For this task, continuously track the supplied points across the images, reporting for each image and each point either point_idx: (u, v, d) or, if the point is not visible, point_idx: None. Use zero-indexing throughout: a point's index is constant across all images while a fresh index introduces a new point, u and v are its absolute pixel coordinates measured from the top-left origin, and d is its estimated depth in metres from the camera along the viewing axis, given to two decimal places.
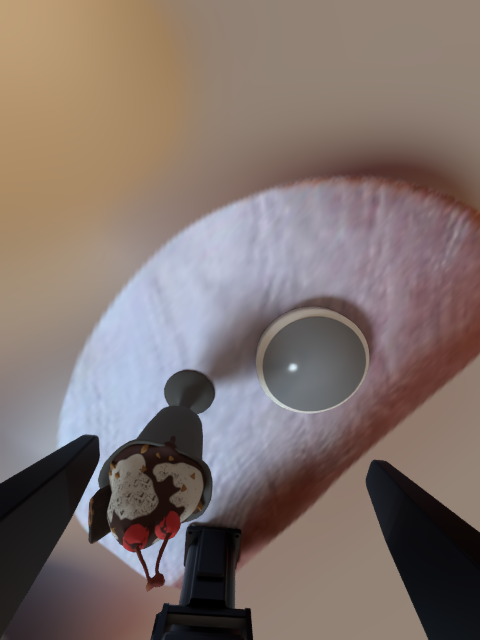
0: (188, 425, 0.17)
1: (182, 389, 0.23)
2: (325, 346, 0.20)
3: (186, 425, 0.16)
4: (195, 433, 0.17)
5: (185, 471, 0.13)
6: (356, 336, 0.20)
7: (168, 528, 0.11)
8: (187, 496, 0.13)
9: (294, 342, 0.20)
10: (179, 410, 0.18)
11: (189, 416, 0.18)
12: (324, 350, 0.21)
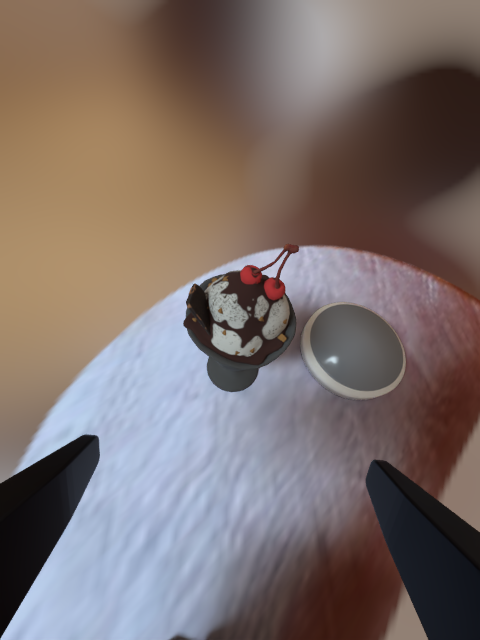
0: None
1: None
2: (363, 327, 0.24)
3: None
4: None
5: None
6: (386, 324, 0.25)
7: (278, 280, 0.12)
8: (284, 294, 0.14)
9: (336, 319, 0.24)
10: None
11: None
12: (362, 330, 0.24)
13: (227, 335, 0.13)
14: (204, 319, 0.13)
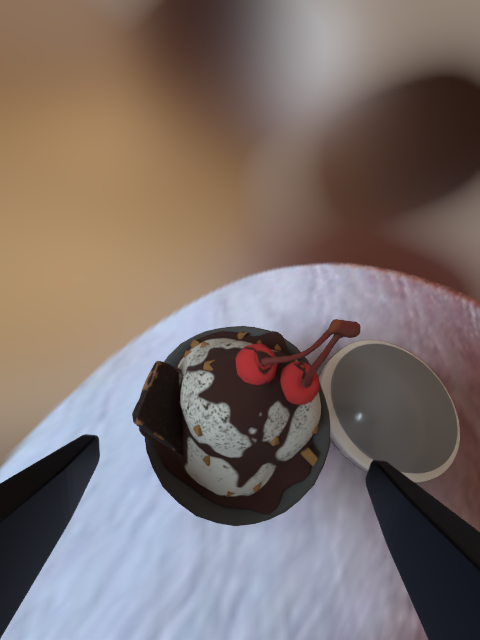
0: None
1: None
2: (399, 376, 0.18)
3: None
4: None
5: None
6: (429, 371, 0.19)
7: (307, 369, 0.07)
8: None
9: (364, 366, 0.19)
10: None
11: None
12: (400, 381, 0.18)
13: (212, 465, 0.07)
14: (171, 433, 0.07)
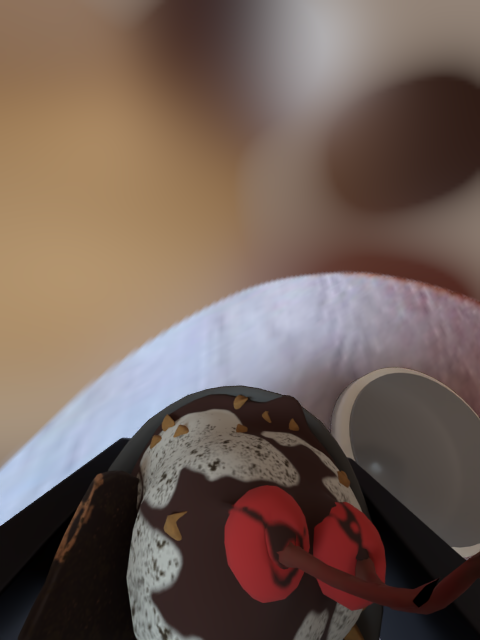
0: None
1: None
2: (432, 414, 0.15)
3: None
4: None
5: (327, 458, 0.06)
6: (467, 407, 0.16)
7: (363, 532, 0.03)
8: (356, 505, 0.05)
9: (389, 401, 0.15)
10: None
11: None
12: (432, 420, 0.15)
13: None
14: (111, 625, 0.04)
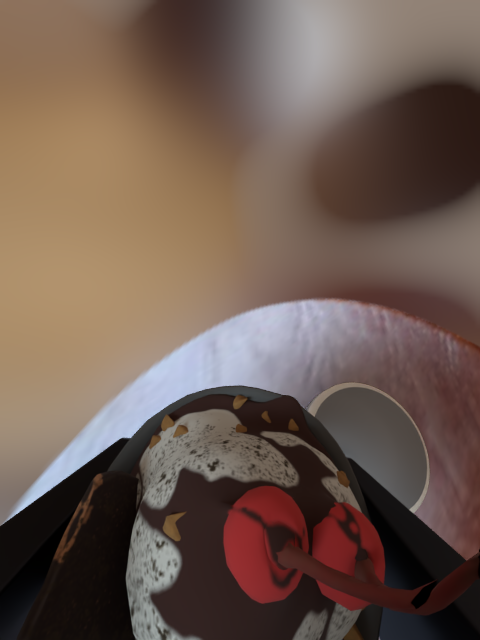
0: None
1: None
2: (376, 420, 0.20)
3: None
4: None
5: (327, 458, 0.06)
6: (403, 413, 0.20)
7: (362, 532, 0.03)
8: (355, 505, 0.05)
9: (343, 410, 0.20)
10: None
11: None
12: (376, 424, 0.20)
13: None
14: (111, 625, 0.04)
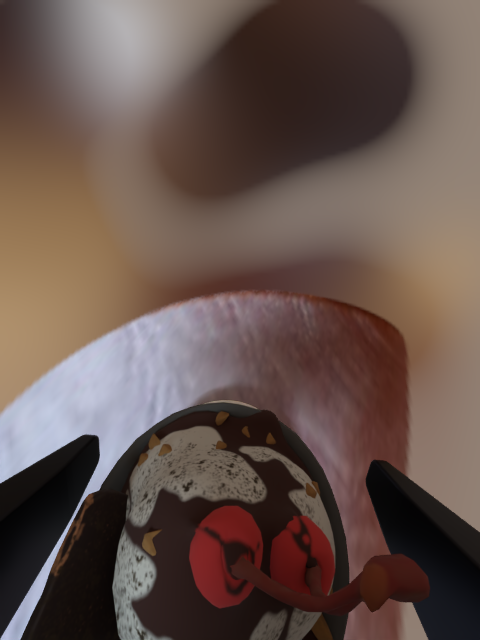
0: None
1: None
2: None
3: None
4: None
5: (300, 469, 0.06)
6: None
7: (313, 542, 0.04)
8: (320, 514, 0.05)
9: None
10: None
11: None
12: None
13: None
14: (103, 627, 0.05)
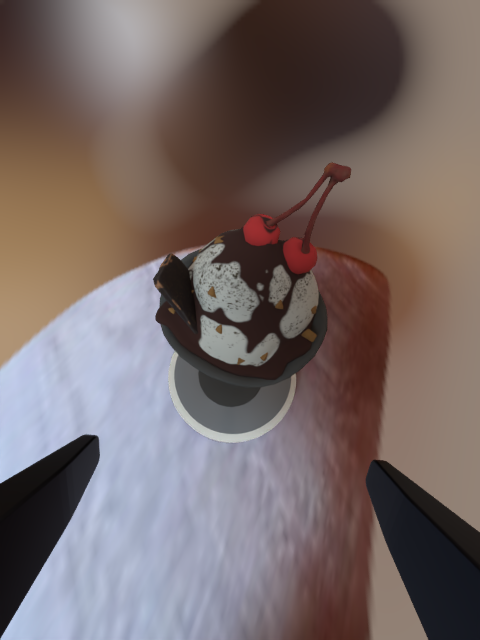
0: None
1: None
2: None
3: None
4: None
5: None
6: None
7: None
8: None
9: None
10: None
11: None
12: None
13: (224, 333, 0.08)
14: (186, 308, 0.08)
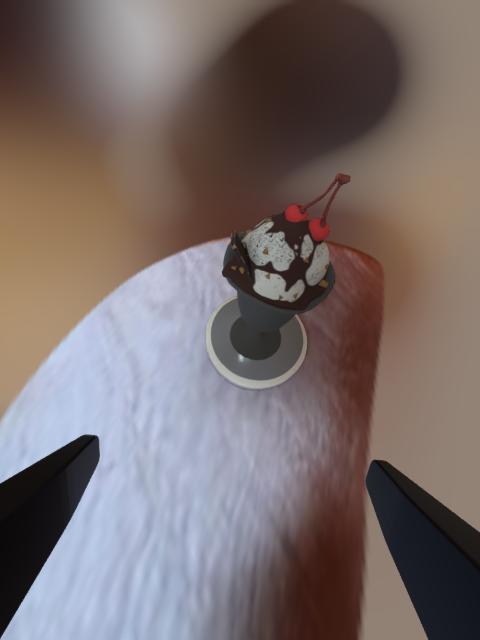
0: None
1: None
2: None
3: None
4: None
5: None
6: None
7: None
8: (323, 240, 0.14)
9: (232, 317, 0.24)
10: None
11: None
12: None
13: (271, 279, 0.13)
14: (246, 264, 0.13)
